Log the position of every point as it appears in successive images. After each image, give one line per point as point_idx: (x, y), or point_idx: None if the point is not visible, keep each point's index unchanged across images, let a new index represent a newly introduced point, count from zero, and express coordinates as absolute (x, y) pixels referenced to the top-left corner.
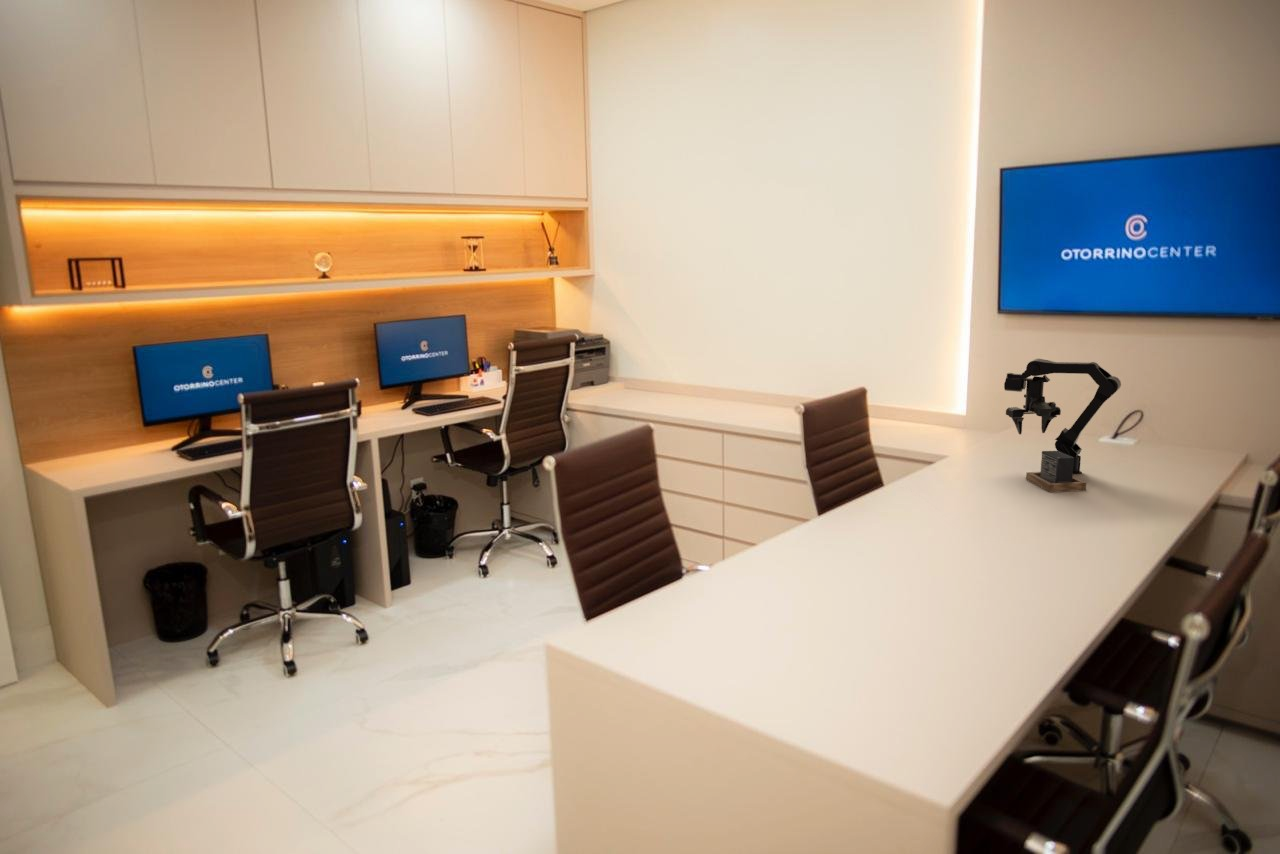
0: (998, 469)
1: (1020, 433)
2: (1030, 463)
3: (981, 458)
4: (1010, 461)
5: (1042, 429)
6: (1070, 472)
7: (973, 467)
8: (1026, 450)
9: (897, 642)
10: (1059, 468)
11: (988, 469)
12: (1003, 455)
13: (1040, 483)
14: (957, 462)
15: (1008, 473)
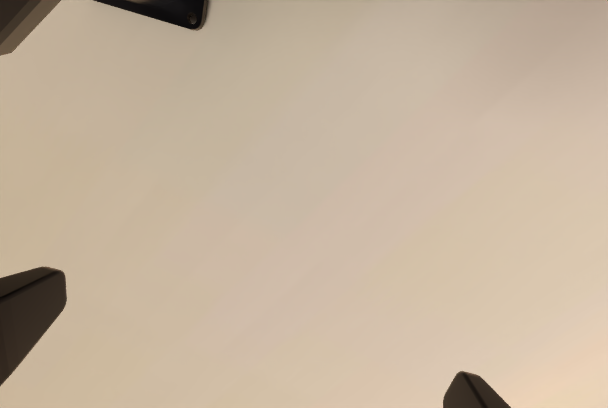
0: (507, 220)
1: (487, 386)
2: (242, 229)
3: (392, 396)
4: (310, 303)
5: (16, 341)
6: None
7: (583, 311)
8: (110, 389)
9: None
10: None
11: (556, 246)
12: (260, 384)
13: None
14: (555, 403)
15: (544, 119)
